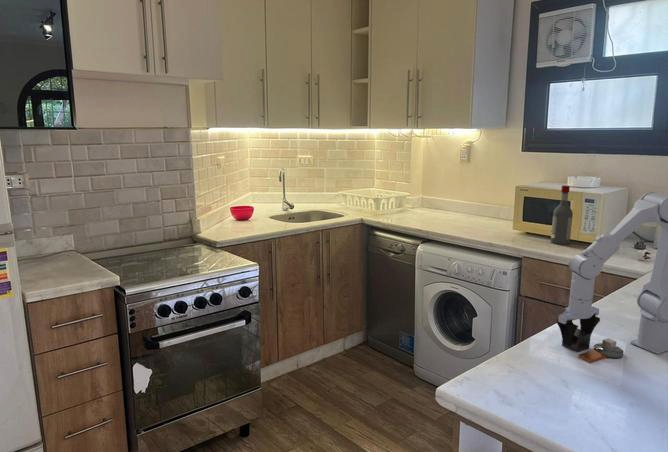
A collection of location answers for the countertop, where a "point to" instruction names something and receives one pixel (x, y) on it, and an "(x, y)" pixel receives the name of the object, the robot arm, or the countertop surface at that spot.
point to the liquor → (562, 220)
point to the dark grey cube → (579, 341)
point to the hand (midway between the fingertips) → (575, 342)
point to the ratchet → (602, 351)
